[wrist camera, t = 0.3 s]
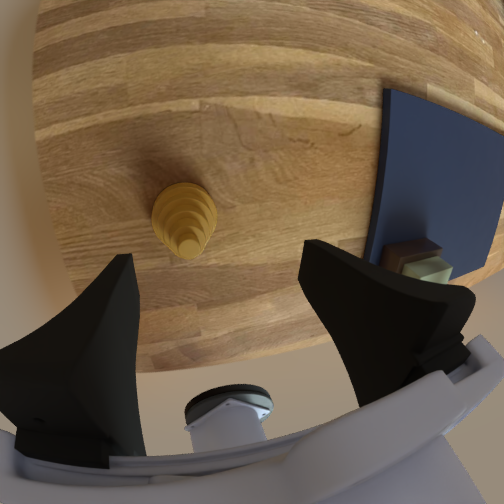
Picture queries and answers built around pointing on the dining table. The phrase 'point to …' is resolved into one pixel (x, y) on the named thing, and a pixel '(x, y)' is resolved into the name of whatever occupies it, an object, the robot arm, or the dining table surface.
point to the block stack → (416, 260)
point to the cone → (184, 219)
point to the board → (436, 182)
